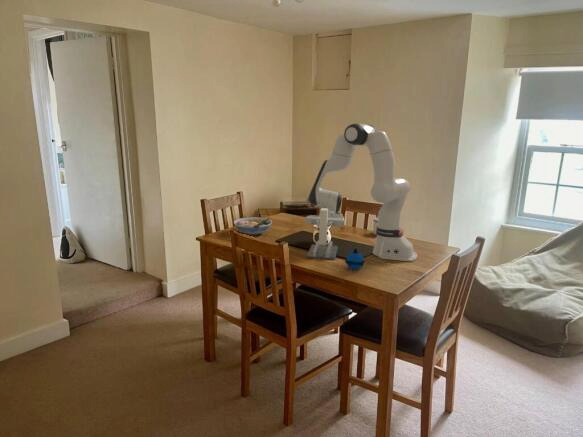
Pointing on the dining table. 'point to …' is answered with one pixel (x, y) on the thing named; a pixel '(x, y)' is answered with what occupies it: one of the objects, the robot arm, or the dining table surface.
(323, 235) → the white rectangular block
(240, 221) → the ramen bowl
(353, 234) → the dining table surface
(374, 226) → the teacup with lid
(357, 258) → the ornament
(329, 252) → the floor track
